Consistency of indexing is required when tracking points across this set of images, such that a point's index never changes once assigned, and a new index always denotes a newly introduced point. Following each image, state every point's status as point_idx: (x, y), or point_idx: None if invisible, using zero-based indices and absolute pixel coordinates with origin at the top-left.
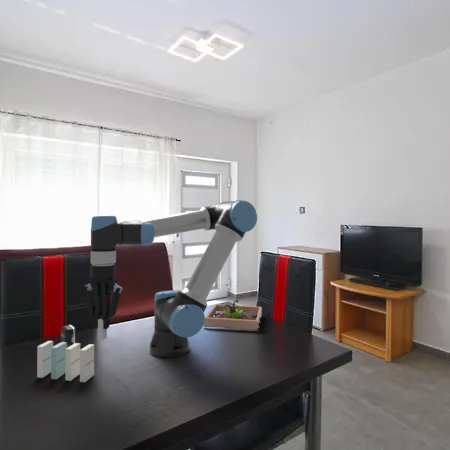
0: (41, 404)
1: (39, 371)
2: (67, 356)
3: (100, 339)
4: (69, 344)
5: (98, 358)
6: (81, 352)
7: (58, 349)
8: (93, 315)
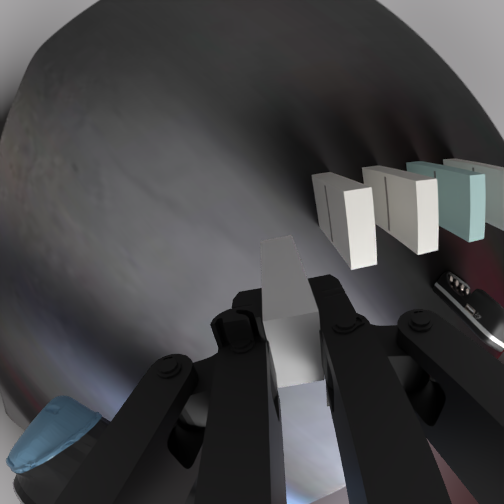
0: (328, 36)
1: (460, 160)
2: (411, 175)
3: (273, 240)
4: (468, 295)
5: (375, 317)
6: (360, 187)
7: (463, 186)
8: (398, 331)
